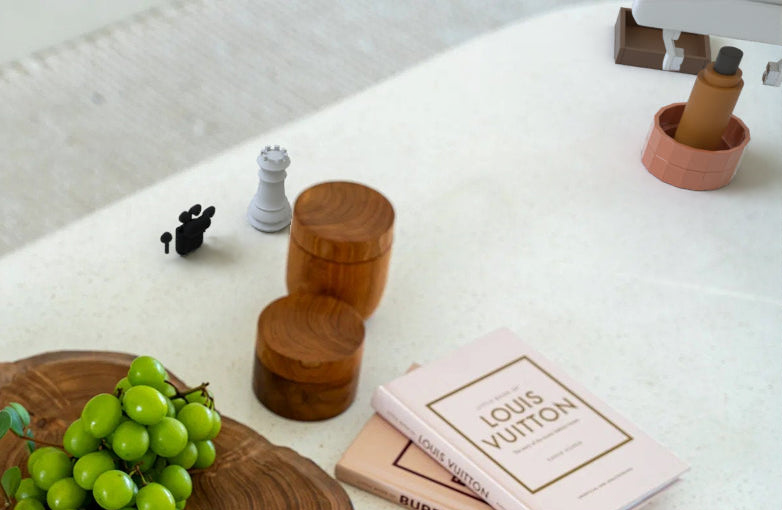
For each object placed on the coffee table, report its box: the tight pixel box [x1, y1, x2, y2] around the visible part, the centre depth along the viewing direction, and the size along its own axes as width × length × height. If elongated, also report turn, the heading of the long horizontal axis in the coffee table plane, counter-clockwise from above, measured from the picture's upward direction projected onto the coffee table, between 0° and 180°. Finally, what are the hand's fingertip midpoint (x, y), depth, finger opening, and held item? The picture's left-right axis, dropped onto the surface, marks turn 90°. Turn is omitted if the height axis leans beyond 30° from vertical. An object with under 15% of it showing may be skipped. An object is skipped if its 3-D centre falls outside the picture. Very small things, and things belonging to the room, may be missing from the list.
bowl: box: [640, 101, 752, 192], centre depth 119 cm, size 9×9×5 cm
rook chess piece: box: [246, 144, 292, 233], centre depth 111 cm, size 4×4×8 cm
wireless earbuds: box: [159, 203, 216, 257], centre depth 109 cm, size 7×2×5 cm, turn 133°
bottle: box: [674, 45, 745, 151], centre depth 116 cm, size 4×4×13 cm
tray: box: [613, 6, 713, 76], centre depth 137 cm, size 10×10×2 cm
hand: (719, 75), depth 113 cm, fingers open, 8 cm apart
